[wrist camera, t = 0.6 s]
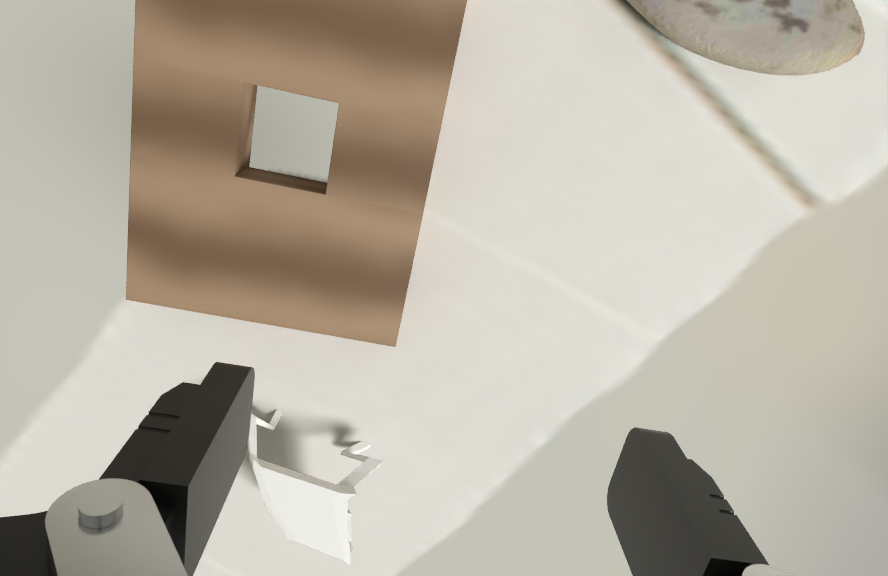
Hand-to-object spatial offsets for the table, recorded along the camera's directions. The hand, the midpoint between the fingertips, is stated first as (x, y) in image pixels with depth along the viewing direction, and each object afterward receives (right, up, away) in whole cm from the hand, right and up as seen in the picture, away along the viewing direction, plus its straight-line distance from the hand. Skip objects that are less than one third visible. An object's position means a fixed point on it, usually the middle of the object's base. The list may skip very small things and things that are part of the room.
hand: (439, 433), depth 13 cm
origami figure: (-9, -9, +31) cm, 33 cm away
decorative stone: (+16, +19, +21) cm, 33 cm away
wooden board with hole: (-9, +12, +23) cm, 27 cm away
